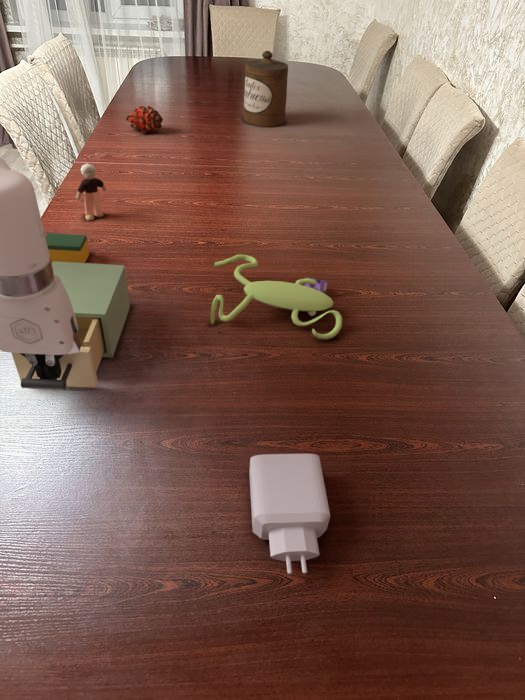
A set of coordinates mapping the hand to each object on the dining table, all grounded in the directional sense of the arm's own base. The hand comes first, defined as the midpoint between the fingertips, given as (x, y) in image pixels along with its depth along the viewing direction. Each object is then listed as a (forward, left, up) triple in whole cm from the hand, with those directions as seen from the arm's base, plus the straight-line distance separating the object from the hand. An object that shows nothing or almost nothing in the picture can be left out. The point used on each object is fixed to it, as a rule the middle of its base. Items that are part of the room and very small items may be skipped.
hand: (51, 379), depth 77 cm
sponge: (-10, +40, -4) cm, 42 cm away
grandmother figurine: (-9, +60, -4) cm, 61 cm away
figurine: (+33, +27, -4) cm, 43 cm away
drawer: (0, +6, -3) cm, 7 cm away
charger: (+35, -20, -4) cm, 40 cm away
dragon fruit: (-8, +121, -4) cm, 122 cm away
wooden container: (+31, +141, -4) cm, 145 cm away
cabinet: (0, +17, -4) cm, 18 cm away
